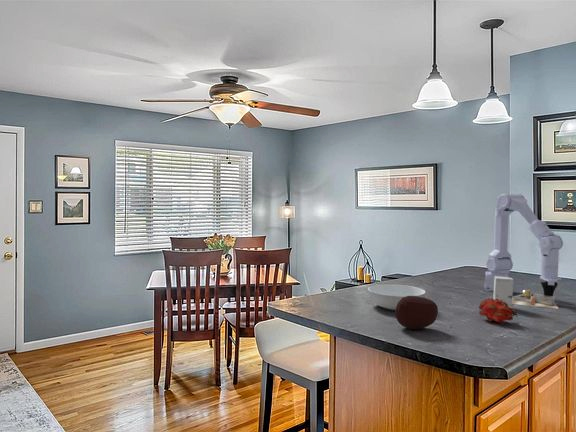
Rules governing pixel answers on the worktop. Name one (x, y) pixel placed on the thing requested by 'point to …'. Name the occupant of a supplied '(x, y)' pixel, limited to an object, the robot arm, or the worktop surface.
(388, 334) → the worktop surface
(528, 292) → the post
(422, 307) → the potato
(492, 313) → the dragon fruit
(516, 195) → the robot arm
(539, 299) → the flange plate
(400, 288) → the serving bowl
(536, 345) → the worktop surface
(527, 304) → the board
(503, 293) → the skincare box
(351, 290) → the worktop surface
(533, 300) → the dowel
